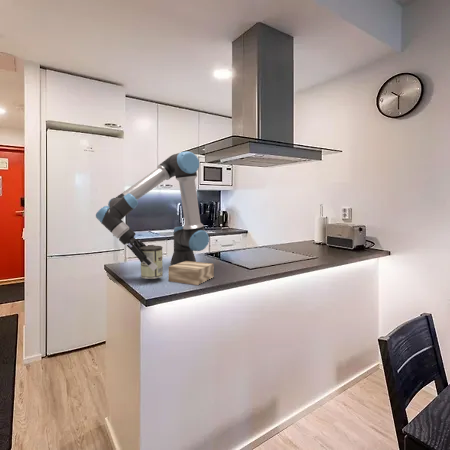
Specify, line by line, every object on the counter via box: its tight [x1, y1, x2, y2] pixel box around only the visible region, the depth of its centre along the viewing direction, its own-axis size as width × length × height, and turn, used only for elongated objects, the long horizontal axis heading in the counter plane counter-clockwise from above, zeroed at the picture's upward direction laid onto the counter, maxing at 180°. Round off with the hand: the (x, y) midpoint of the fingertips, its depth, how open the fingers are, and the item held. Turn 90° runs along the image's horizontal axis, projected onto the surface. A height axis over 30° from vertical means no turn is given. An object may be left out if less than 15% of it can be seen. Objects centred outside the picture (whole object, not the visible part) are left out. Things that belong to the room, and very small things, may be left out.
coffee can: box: [140, 245, 164, 280], centre depth 146 cm, size 10×10×14 cm
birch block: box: [168, 261, 215, 286], centre depth 150 cm, size 16×16×7 cm
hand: (158, 266), depth 147 cm, fingers closed on coffee can, 10 cm apart
